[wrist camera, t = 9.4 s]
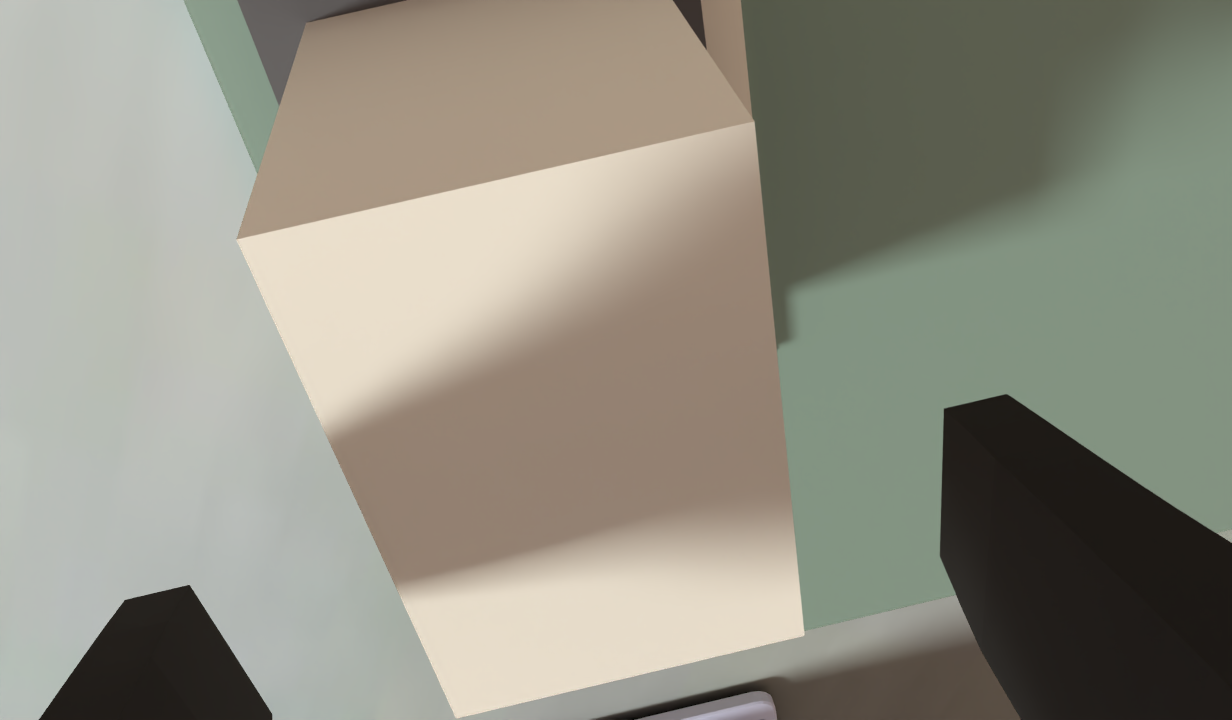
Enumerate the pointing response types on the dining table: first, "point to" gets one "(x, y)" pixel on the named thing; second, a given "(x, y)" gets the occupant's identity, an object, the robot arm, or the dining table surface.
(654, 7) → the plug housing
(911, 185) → the header board
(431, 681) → the dining table surface
